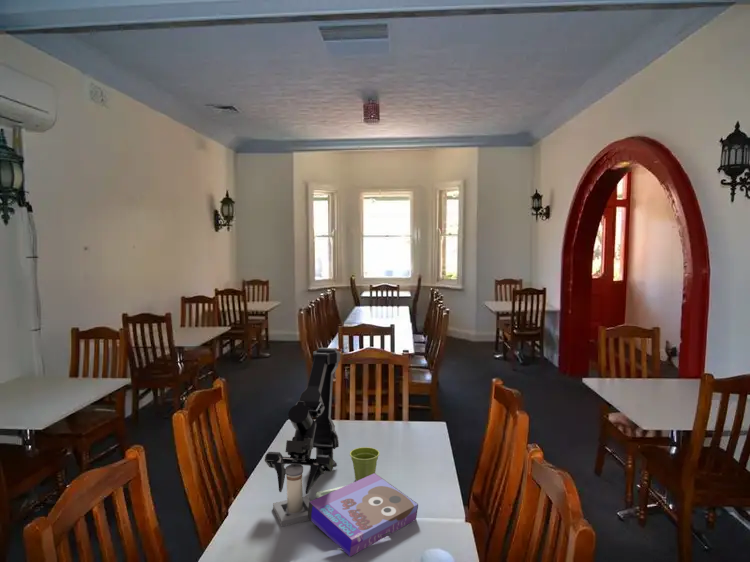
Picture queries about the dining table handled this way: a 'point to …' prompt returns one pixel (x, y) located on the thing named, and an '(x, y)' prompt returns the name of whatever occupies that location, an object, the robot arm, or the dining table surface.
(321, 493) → the parts tray
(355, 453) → the plant pot
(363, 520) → the cereal box
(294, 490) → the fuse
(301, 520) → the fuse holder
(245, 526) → the dining table surface
